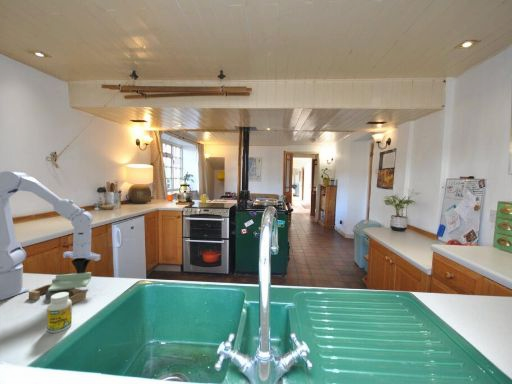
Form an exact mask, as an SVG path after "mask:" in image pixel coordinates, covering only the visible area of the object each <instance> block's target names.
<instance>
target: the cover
mask: <svg viewBox="0 0 512 384" xmlns="http://www.w3.org/2000/svg"><path fill="white" fill-rule="evenodd" d="M91 279H92V272H91V271H88V272H86V271H85V273H77V272H76V273H67V274H66V273H65V274H56V275H55V278H53V279H52V281H51V283H52V286H51V287H50V288H49V289H48V292H49V291H53V290H62V289H71V288H75V289H80V288H86V287H88V284H89V283H90V281H91Z"/></svg>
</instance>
